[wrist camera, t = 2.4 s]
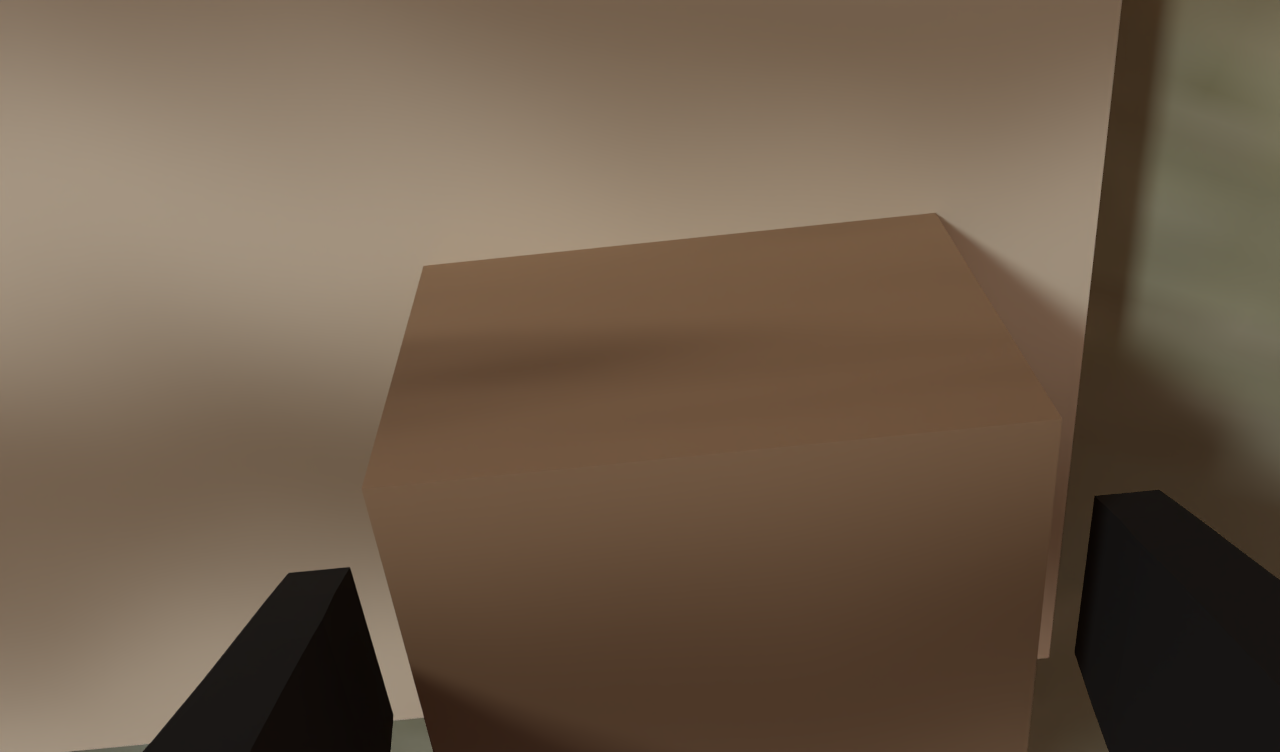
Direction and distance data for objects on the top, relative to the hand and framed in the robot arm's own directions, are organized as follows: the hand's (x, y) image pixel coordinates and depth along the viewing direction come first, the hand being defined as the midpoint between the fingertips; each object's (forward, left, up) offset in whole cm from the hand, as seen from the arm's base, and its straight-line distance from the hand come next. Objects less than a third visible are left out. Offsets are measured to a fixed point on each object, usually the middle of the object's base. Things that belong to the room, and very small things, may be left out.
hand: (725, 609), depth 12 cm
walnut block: (0, 0, -3) cm, 3 cm away
